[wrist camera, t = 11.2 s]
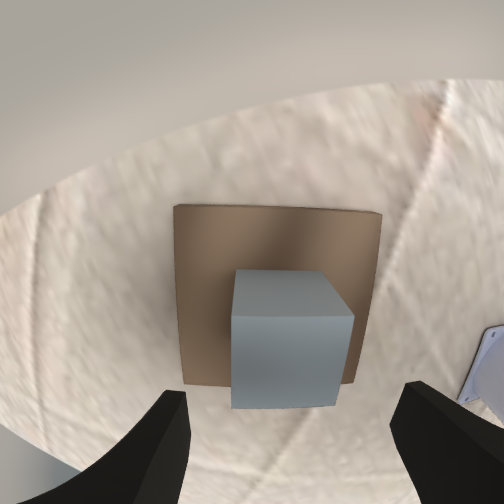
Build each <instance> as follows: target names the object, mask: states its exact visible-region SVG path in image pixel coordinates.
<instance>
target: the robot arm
mask: <svg viewBox="0 0 504 504" xmlns="http://www.w3.org/2000/svg"><path fill="white" fill-rule="evenodd" d="M478 398H481V399H482V401H483V402H484V403H485V404H486V405H487V406H488V407H489V409H490V410H491V411H492V412H493V413H494V414H495V416H496V417H497V418H498V419H499V420H500V421H501V423H502V424H503V425H504V326H499V327H494V328H489V329H487V330H486V332H485V334H484V336H483V339H482V342H481V345H480V348H479V350H478V353H477V356H476V358H475V361H474V364H473V366H472V369H471V371H470V373H469V376H468V378H467V380H466V383H465V385H464V387H463V389H462V392H461V394H460V396H459V398H458V403H459V404H463V403H466V402H469V401H472V400H475V399H478ZM459 404H457V403H456V402H454V401H452V400H451V399H449V398H448V397H446V396H445V395H443V394H441V393H440V392H438V391H437V390H435V389H434V388H432V387H430V386H429V385H427V384H425V383H423V382H422V381H415V382H410V383H406V384H405V387H404V389H403V392H402V395H401V397H400V400H399V402H398V405H397V407H396V410H395V412H394V415H393V417H392V419H391V422H390V424H389V425H390V428H391V432H392V435H393V438H394V442H395V445H396V448H397V450H398V452H399V454H400V456H401V459H402V461H403V463H404V465H405V467H406V469H407V471H408V473H409V476H410V478H411V480H412V482H413V484H414V486H415V489H416V491H417V493H418V496H419V498H420V501H421V504H504V429H503V428H501V427H498V426H496V425H494V424H492V423H490V422H488V421H486V420H484V419H482V418H481V417H479V416H477V415H475V414H474V413H472V412H470V411H468V410H467V409H465V408H464V407H462V406H460V405H459ZM190 441H191V429H190V422H189V415H188V407H187V400H186V392H183V391H173V390H166V391H164V392H163V393H162V394H161V396H160V397H159V398H158V400H157V401H156V402H155V403H154V404H153V406H152V407H151V408H150V409H149V410H148V412H147V413H146V414H145V415H144V416H143V417H142V419H141V420H140V421H139V422H138V423H137V424H136V425H135V426H134V427H133V428H132V429H131V430H130V431H129V432H128V433H127V434H126V435H125V436H124V437H123V438H122V439H121V440H120V441H119V442H118V443H117V444H116V445H115V446H114V447H113V448H112V449H111V450H109V451H108V452H107V453H106V454H105V455H104V456H102V457H101V458H100V459H99V460H98V461H96V462H95V463H94V464H92V465H91V466H90V467H88V468H87V469H85V470H84V471H83V472H81V473H80V474H78V475H76V476H75V477H73V478H72V479H70V480H68V481H67V482H65V483H63V484H62V485H60V486H58V487H56V488H54V489H52V490H50V491H48V492H45V493H43V494H41V495H39V496H36V497H34V498H32V499H29V500H27V501H24V502H21V503H18V504H177V503H178V499H179V495H180V491H181V487H182V483H183V479H184V475H185V471H186V467H187V463H188V457H189V449H190Z"/></svg>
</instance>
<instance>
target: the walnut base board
mask: <svg viewBox="0 0 504 504" xmlns="http://www.w3.org/2000/svg"><path fill="white" fill-rule="evenodd" d="M173 208H174V259H175V282H176V300H177V315H178V328H179V340H180V351H181V362H182V371H183V380H184V384H189V385H203V386H222V387H231V315H232V305H233V295H234V285H235V276H236V269H248V270H289V271H321V272H322V273H323V274H324V275H325V277H326V278H327V279H328V281H329V282H330V283H331V285H332V286H333V287H334V289H335V290H336V291H337V293H338V294H339V295H340V297H341V298H342V299H343V301H344V302H345V303H346V305H347V306H348V307H349V309H350V310H351V311H352V313H353V314H354V316H355V317H354V322H353V328H352V333H351V338H350V343H349V348H348V353H347V358H346V362H345V367H344V371H343V375H342V380H341V384H349V383H353V382H354V378H355V374H356V370H357V366H358V362H359V358H360V353H361V349H362V344H363V340H364V335H365V330H366V325H367V320H368V315H369V310H370V304H371V298H372V292H373V286H374V280H375V273H376V266H377V259H378V251H379V243H380V233H381V224H382V214H379V213H376V212H368V211H354V210H338V209H321V208H302V207H279V206H249V205H190V204H178V205H176V206H174V207H173Z"/></svg>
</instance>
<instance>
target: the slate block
mask: <svg viewBox="0 0 504 504" xmlns="http://www.w3.org/2000/svg"><path fill="white" fill-rule="evenodd" d="M354 317H355V316H354V314H353V313H352V311H351V310H350V309H349V307H348V306H347V305H346V303H345V302H344V301H343V299H342V298H341V297H340V295H339V294H338V293H337V291H336V290H335V289H334V287H333V286H332V285H331V283H330V282H329V281H328V279H327V278H326V277H325V275H324V274H323V273H322V272H321V271H289V270H248V269H236V276H235V285H234V295H233V305H232V315H231V408H236V409H286V408H309V407H323V406H335V404H336V400H337V396H338V392H339V388H340V384H341V380H342V375H343V371H344V367H345V362H346V358H347V353H348V348H349V343H350V338H351V333H352V328H353V322H354Z"/></svg>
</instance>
